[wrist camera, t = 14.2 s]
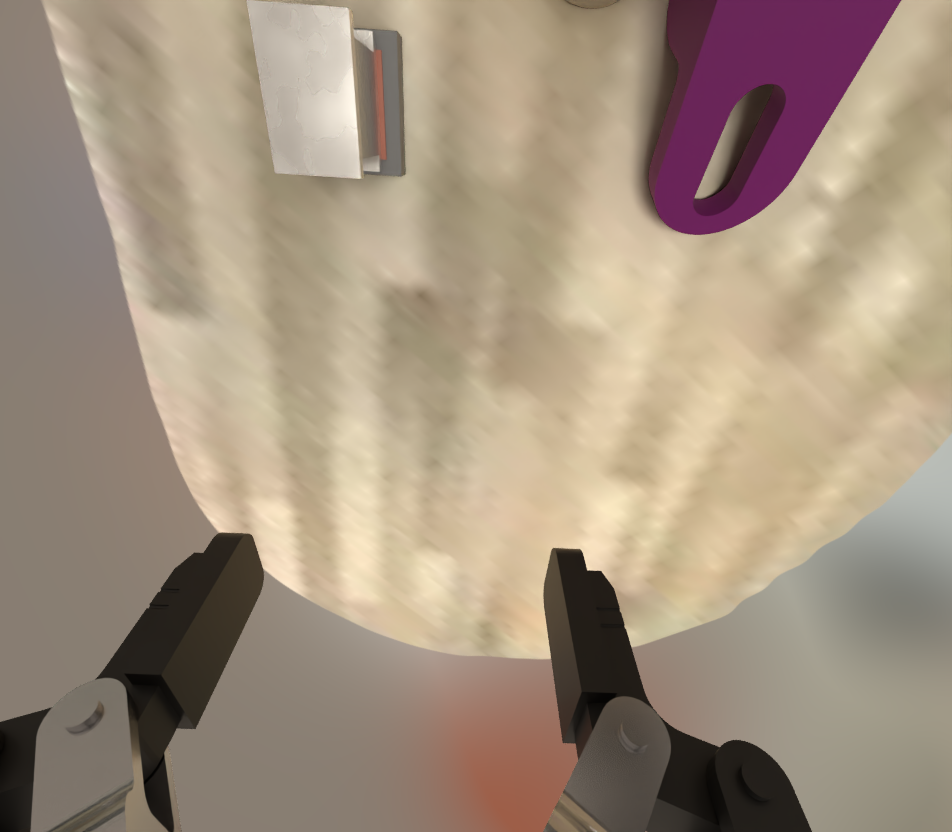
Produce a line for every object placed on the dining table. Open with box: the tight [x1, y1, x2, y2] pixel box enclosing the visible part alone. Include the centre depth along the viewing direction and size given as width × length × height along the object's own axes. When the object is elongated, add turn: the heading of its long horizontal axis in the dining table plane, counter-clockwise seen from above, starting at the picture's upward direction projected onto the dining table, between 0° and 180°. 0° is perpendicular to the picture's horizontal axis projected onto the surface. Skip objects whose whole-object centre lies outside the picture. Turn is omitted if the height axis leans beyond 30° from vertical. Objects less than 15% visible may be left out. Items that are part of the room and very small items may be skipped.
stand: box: [354, 28, 405, 176], centre depth 30 cm, size 8×8×2 cm
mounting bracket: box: [649, 0, 901, 235], centre depth 29 cm, size 9×8×18 cm
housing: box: [247, 0, 382, 179], centre depth 27 cm, size 8×5×7 cm, turn 177°
